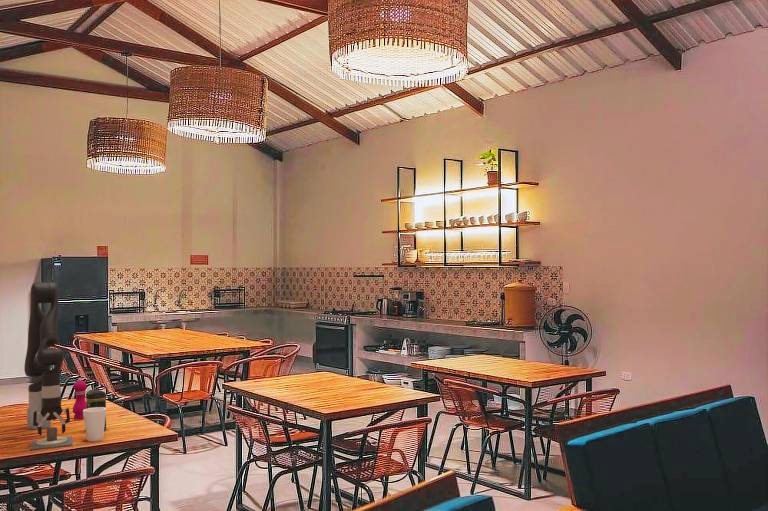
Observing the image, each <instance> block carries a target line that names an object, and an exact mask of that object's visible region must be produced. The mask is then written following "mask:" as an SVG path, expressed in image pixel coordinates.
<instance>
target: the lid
mask: <svg viewBox="0 0 768 511" xmlns="http://www.w3.org/2000/svg"><path fill="white" fill-rule="evenodd" d="M66 437H67V436H58V427H56V426H52V427H51V426H50V427H47V428H46V437H44V438H41V439H37V440H38V441H36V445H39V446H51V445H58V444H62V443H65V442H67V438H66Z"/></svg>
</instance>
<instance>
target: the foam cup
mask: <svg viewBox="0 0 768 511" xmlns="http://www.w3.org/2000/svg"><path fill="white" fill-rule="evenodd" d="M83 416H84V419H83V421H84V428H85V433H86V439H87V441H88V442H97V441H102V440H103V439H104V433H105V430H104V427H105V418H106V419H107V407H106V408H105V407H95V408H88V409H84V410H83Z"/></svg>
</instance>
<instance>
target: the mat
mask: <svg viewBox="0 0 768 511" xmlns="http://www.w3.org/2000/svg"><path fill="white" fill-rule="evenodd" d="M65 437H66V438H67V442H65V443H62V444H58V445H51V446H39V445H36V441H38V440H39V439H35V440H31V442H30V443H31V444H30V448H29V449H30V450H29V451H36V450H38V451H39V450H43V449H44V450H46V449H55V448H64V447H73V444H74V443H73V436H65Z"/></svg>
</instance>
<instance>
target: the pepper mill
mask: <svg viewBox="0 0 768 511" xmlns="http://www.w3.org/2000/svg"><path fill="white" fill-rule="evenodd" d="M87 387H88V386H87V383H86V382H85V381H83V379H82V378H81V377H79V378H78V379H77V381H76V382H75V383H74V384H73V389H74V395H75V402H74V403H73V407H72V413H73V414H74V415H73V420H84V416H83V410H84V409H87V404H86V393H87V391H86V389H87Z"/></svg>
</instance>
